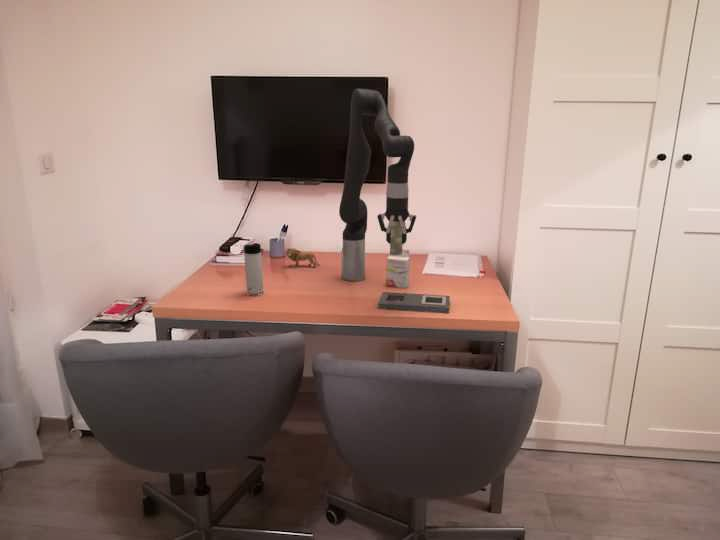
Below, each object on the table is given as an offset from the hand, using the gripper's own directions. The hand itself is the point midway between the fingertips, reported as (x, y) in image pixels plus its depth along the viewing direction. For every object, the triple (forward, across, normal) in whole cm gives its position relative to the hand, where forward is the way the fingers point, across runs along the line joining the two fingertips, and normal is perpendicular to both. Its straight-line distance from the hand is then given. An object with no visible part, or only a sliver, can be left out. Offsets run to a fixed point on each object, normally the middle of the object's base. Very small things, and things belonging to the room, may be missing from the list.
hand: (396, 243), depth 188 cm
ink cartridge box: (+23, +1, -20) cm, 31 cm away
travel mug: (+23, +54, -1) cm, 59 cm away
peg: (+4, 0, 0) cm, 4 cm away
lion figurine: (+23, +46, -37) cm, 64 cm away
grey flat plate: (+23, -7, 0) cm, 24 cm away
